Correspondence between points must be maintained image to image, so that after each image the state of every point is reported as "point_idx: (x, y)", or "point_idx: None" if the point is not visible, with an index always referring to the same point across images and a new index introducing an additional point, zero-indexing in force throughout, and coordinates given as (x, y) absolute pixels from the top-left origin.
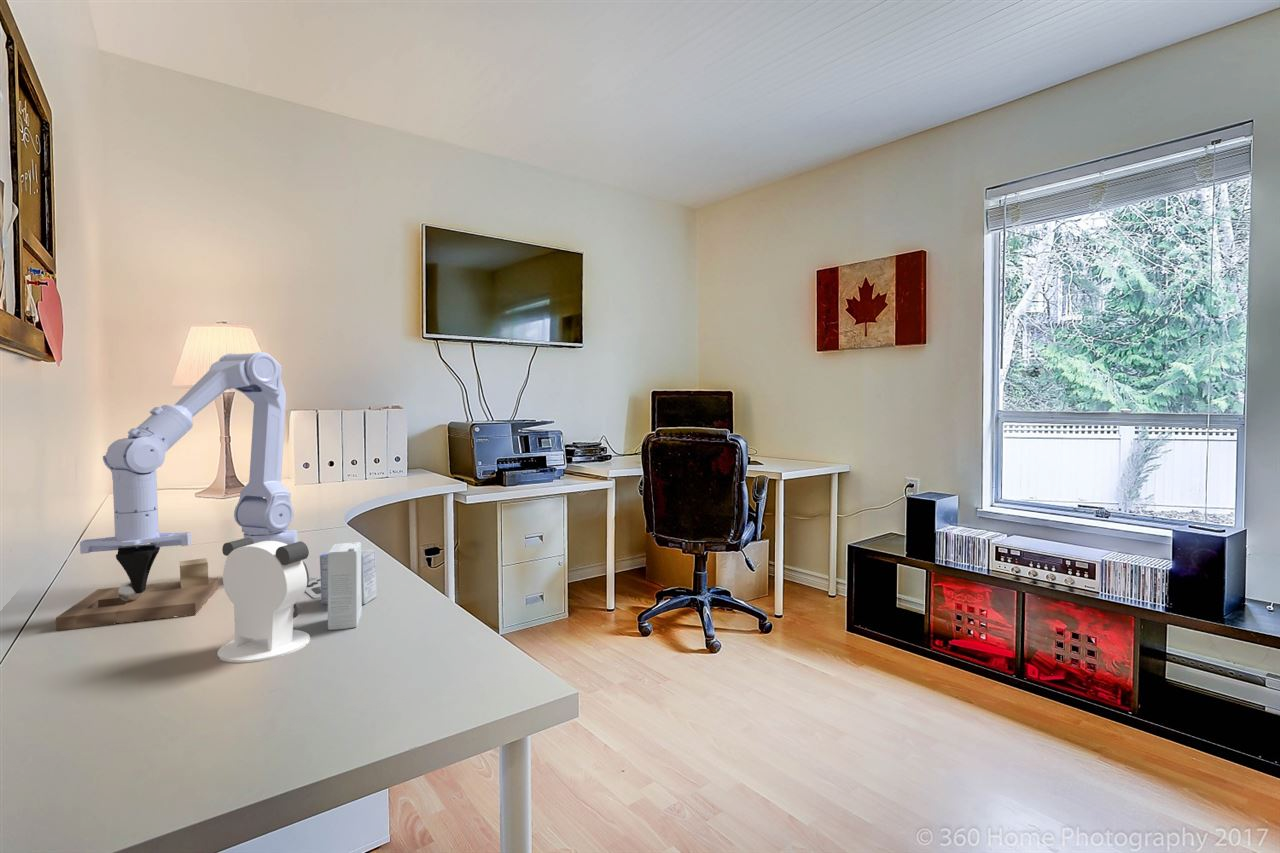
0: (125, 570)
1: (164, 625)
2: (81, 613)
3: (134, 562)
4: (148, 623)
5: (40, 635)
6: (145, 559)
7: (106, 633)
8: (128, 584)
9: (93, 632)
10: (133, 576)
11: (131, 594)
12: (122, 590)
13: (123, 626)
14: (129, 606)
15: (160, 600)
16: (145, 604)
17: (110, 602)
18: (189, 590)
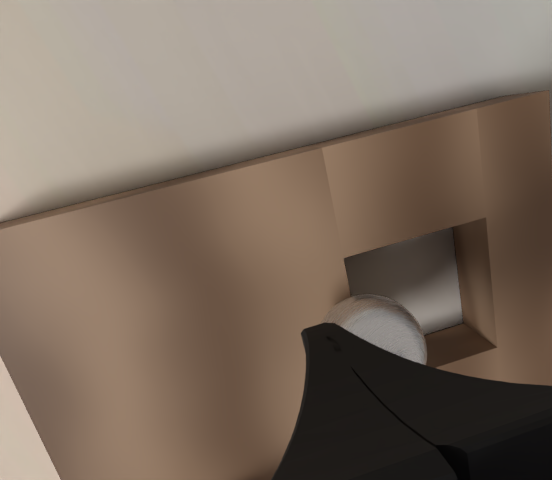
0: (432, 368)
1: (47, 79)
2: (469, 142)
3: (394, 418)
4: (157, 130)
5: (534, 47)
6: (303, 460)
7: (273, 7)
8: (383, 348)
9: (342, 39)
10: (364, 360)
11: (340, 308)
12: (391, 311)
13: (253, 105)
14: (300, 225)
15: (197, 310)
16: (236, 250)
17: (446, 351)
18: (150, 462)
